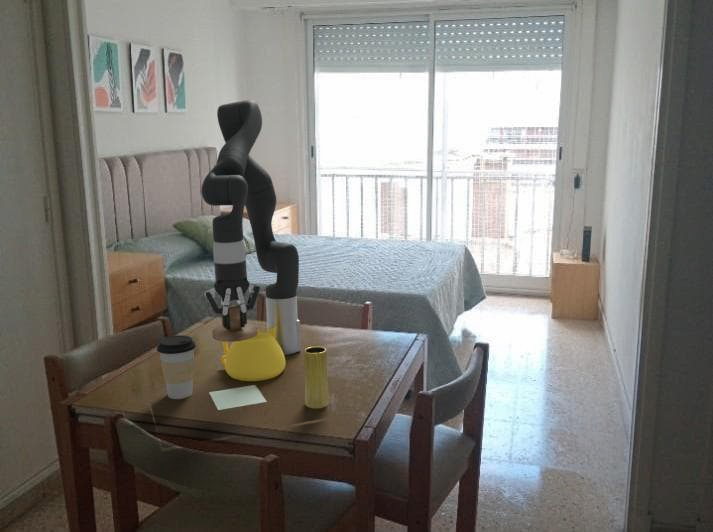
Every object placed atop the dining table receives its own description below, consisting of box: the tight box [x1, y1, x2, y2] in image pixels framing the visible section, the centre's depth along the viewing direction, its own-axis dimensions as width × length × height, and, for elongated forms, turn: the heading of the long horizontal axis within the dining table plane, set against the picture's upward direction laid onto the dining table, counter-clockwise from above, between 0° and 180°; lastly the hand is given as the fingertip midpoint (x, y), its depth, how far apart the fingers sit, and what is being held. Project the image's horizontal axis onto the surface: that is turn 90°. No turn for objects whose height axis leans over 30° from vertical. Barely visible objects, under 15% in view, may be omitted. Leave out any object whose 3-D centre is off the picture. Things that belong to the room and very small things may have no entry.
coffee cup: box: [156, 335, 197, 400], centre depth 173 cm, size 9×9×15 cm
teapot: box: [220, 327, 286, 382], centre depth 190 cm, size 20×19×13 cm
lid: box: [211, 304, 259, 343], centre depth 167 cm, size 11×11×7 cm
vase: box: [303, 345, 330, 409], centre depth 165 cm, size 6×6×14 cm
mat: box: [208, 384, 268, 411], centre depth 172 cm, size 12×12×1 cm
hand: (234, 327), depth 168 cm, fingers closed on lid, 3 cm apart
